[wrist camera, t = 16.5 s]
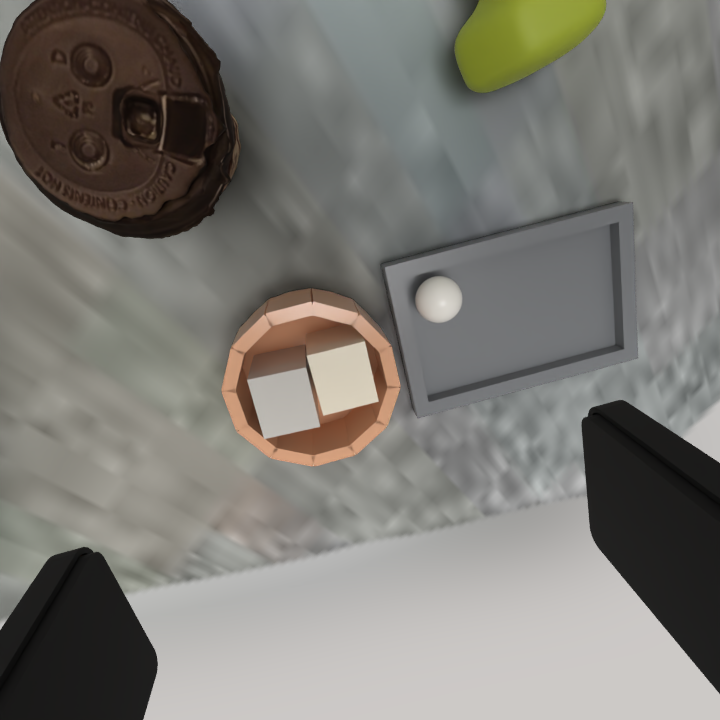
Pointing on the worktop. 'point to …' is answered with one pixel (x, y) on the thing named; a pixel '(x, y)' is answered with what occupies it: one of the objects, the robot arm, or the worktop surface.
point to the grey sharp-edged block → (283, 391)
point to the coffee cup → (118, 113)
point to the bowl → (337, 430)
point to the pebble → (438, 299)
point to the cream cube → (340, 368)
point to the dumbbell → (520, 38)
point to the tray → (519, 308)
